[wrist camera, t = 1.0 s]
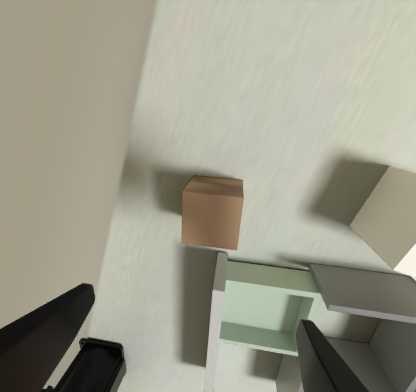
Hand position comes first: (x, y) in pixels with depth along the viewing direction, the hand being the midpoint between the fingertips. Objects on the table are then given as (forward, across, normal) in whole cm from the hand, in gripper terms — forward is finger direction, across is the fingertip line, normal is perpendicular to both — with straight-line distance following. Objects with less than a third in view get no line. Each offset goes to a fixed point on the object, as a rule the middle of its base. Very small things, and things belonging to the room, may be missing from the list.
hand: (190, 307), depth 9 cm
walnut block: (+12, 0, 0) cm, 12 cm away
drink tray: (+12, -5, +16) cm, 20 cm away
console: (+12, -15, +16) cm, 24 cm away
